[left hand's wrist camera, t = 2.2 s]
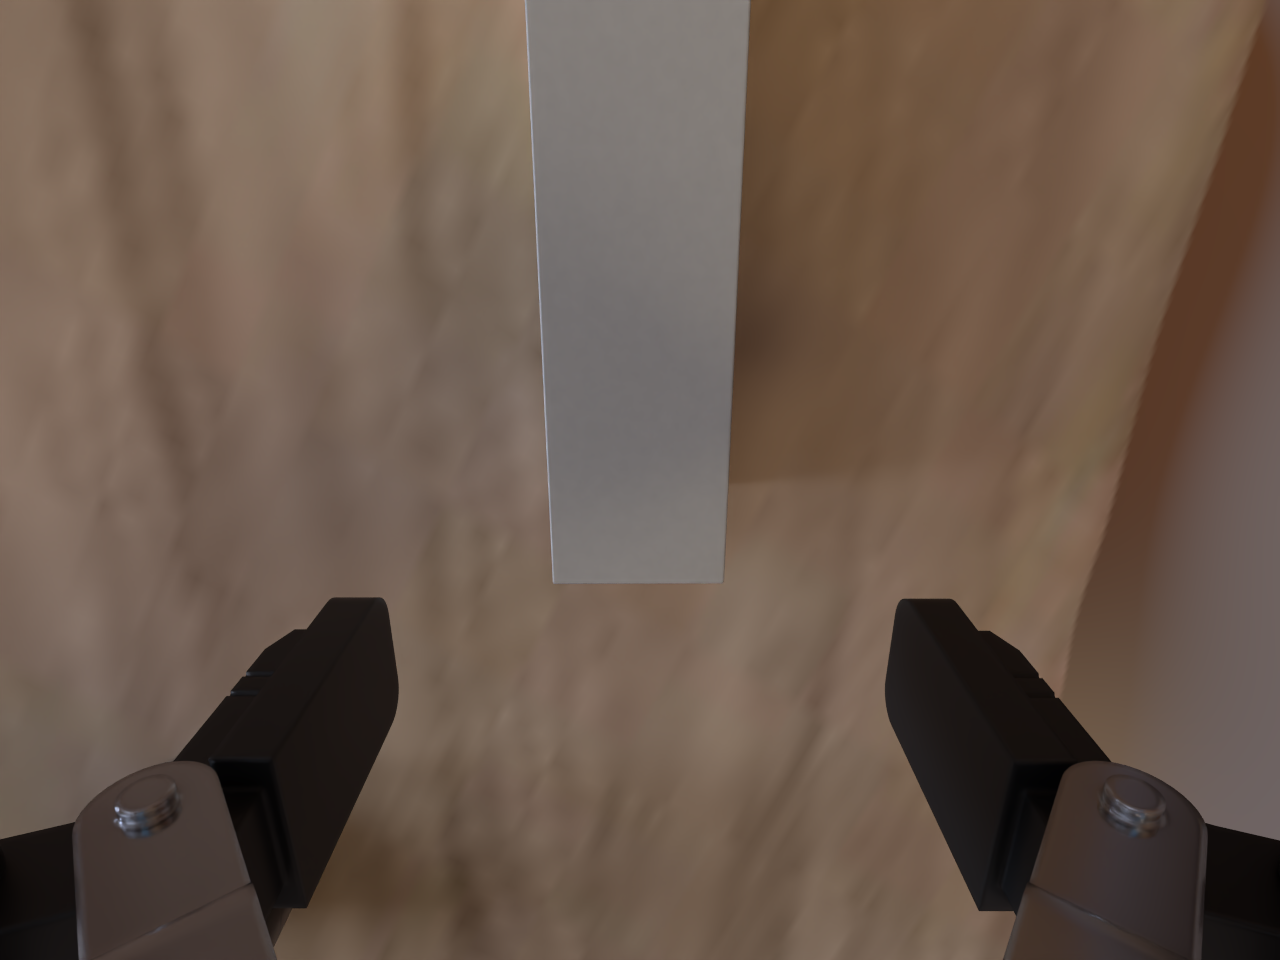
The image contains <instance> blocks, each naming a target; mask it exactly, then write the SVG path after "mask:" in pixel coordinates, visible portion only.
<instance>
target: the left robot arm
mask: <svg viewBox="0 0 1280 960" xmlns="http://www.w3.org/2000/svg"><path fill="white" fill-rule="evenodd" d="M398 694H399V684H398V675H397V668H396V661H395V654H394V647H393V640H392V633H391V626H390V619H389V613H388V608H387V605H386V602H385V601H384V599H382V598H331V599H330V600H329V601H328V602H327V603H326V604H325V606H324V607H323V608H322V610H321V611H320V612H319V614H318V615H317V616H316V618H315V619H314V620H313V622H312V623H311V624H310V626H309V627H308V628H307V629H295V630H293V631H292V632H290V633H289V634H287V635H286V636H284V637H283V638H281V639H280V640H278V641H277V642H275V643H274V644H272V645H271V646H269V647H268V648H266V649H265V650H264V651H263V652H262V653H261V655H260V656H259V657H258V658H257V660H256V661H255V662H254V663H253V664H252V666H251V667H250V668H249V669H248V671H247V672H246V677H242V678H241V679H240V680H239V682H238V683H237V684H236V685H235V686H234V688H233V689H232V690H231V695H230V696H226V697H225V699H224V700H223V701H222V702H221V704H220V705H219V706H218V707H217V708H216V710H215V711H214V712H213V713H212V715H211V716H210V717H209V718H208V719H207V721H206V722H205V723H204V724H203V726H202V727H201V728H200V729H199V730H198V732H197V733H196V734H195V735H194V737H193V738H192V739H191V740H190V741H189V743H188V744H187V745H186V746H185V748H184V749H183V750H182V751H181V752H180V754H179V755H178V756H177V757H176V759H175V760H174V761H173V762H167V763H162V764H158V765H154V766H151V767H148V768H145V769H142V770H139V771H137V772H135V773H132V774H130V775H128V776H126V777H124V778H122V779H120V780H118V781H117V782H115V783H114V784H112V785H111V786H109V787H107V788H106V789H105V790H103V791H102V792H101V793H99V794H98V795H97V796H96V797H95V798H94V799H93V800H92V801H90V802H89V803H88V805H87V806H86V807H85V808H84V809H83V810H82V812H81V813H80V815H79V816H78V818H77V820H76V822H73V823H70V824H65V825H61V826H57V827H52V828H48V829H44V830H39V831H35V832H30V833H26V834H22V835H17V836H13V837H9V838H4V839H0V960H277V958H276V955H275V952H274V948H273V947H274V945H275V943H276V941H277V939H278V937H279V935H280V933H281V931H282V929H283V927H284V925H285V922H286V920H287V918H288V916H289V914H290V912H291V910H292V908H307V906H308V904H309V902H310V899H311V897H312V895H313V893H314V891H315V889H316V886H317V884H318V882H319V880H320V878H321V876H322V874H323V871H324V869H325V867H326V865H327V863H328V861H329V859H330V856H331V854H332V852H333V850H334V848H335V846H336V843H337V841H338V839H339V837H340V835H341V833H342V831H343V828H344V826H345V824H346V822H347V820H348V818H349V816H350V813H351V811H352V809H353V807H354V805H355V803H356V800H357V798H358V796H359V794H360V792H361V790H362V788H363V785H364V783H365V781H366V779H367V777H368V775H369V773H370V770H371V768H372V766H373V764H374V762H375V760H376V757H377V755H378V753H379V751H380V749H381V747H382V745H383V742H384V740H385V738H386V736H387V734H388V732H389V730H390V727H391V725H392V723H393V720H394V717H395V714H396V710H397V704H398ZM885 700H886V707H887V713H888V717H889V720H890V723H891V725H892V727H893V729H894V731H895V734H896V736H897V738H898V740H899V742H900V744H901V746H902V748H903V751H904V753H905V755H906V757H907V759H908V761H909V763H910V765H911V768H912V770H913V772H914V774H915V776H916V778H917V780H918V782H919V785H920V787H921V789H922V791H923V793H924V795H925V797H926V799H927V802H928V804H929V806H930V808H931V810H932V812H933V814H934V816H935V819H936V821H937V823H938V825H939V827H940V829H941V831H942V833H943V836H944V838H945V840H946V842H947V844H948V846H949V848H950V850H951V853H952V855H953V857H954V859H955V861H956V863H957V865H958V867H959V870H960V872H961V874H962V876H963V878H964V880H965V882H966V884H967V887H968V889H969V891H970V893H971V895H972V897H973V899H974V901H975V904H976V906H977V908H978V910H979V911H1014V913H1015V915H1016V919H1015V923H1014V926H1013V929H1012V932H1011V936H1010V939H1009V942H1008V945H1007V948H1006V952H1005V955H1004V958H1003V960H1280V841H1279V840H1274V839H1270V838H1266V837H1262V836H1257V835H1253V834H1249V833H1244V832H1240V831H1236V830H1231V829H1227V828H1223V827H1218V826H1214V825H1211V824H1207V823H1205V822H1204V820H1203V818H1202V816H1201V815H1200V813H1199V812H1198V810H1197V809H1196V808H1195V807H1194V806H1193V805H1192V803H1191V802H1190V801H1188V800H1187V799H1186V798H1185V797H1184V796H1183V795H1182V794H1180V793H1179V792H1178V791H1177V790H1175V789H1174V788H1173V787H1171V786H1169V785H1168V784H1166V783H1165V782H1163V781H1162V780H1160V779H1158V778H1156V777H1154V776H1152V775H1150V774H1148V773H1145V772H1143V771H1141V770H1138V769H1135V768H1132V767H1129V766H1126V765H1122V764H1118V763H1113V762H1111V761H1110V760H1109V758H1108V757H1107V756H1106V755H1105V753H1104V752H1103V751H1102V750H1101V749H1100V747H1099V746H1098V745H1097V744H1096V743H1095V741H1094V740H1093V739H1092V738H1091V737H1090V735H1089V734H1088V733H1087V732H1086V731H1085V729H1084V728H1083V727H1082V726H1081V724H1080V723H1079V722H1078V721H1077V720H1076V718H1075V717H1074V716H1073V715H1072V714H1071V712H1070V711H1069V710H1068V709H1067V707H1066V706H1065V705H1064V704H1063V703H1062V701H1061V700H1060V699H1059V698H1055V696H1054V692H1053V691H1052V689H1051V688H1050V687H1049V686H1048V684H1047V683H1046V682H1045V681H1044V680H1043V678H1039V674H1038V672H1037V671H1036V670H1035V669H1034V667H1033V666H1032V665H1031V664H1030V663H1029V661H1028V660H1027V659H1026V658H1025V657H1024V655H1023V654H1022V653H1021V652H1020V651H1019V650H1018V649H1016V648H1015V647H1013V646H1012V645H1010V644H1009V643H1007V642H1006V641H1004V640H1003V639H1001V638H1000V637H998V636H997V635H995V634H994V633H992V632H991V631H978V630H977V629H976V628H975V626H974V625H973V624H972V622H971V621H970V620H969V618H968V617H967V616H966V615H965V613H964V612H963V611H962V609H961V608H960V607H959V605H958V604H957V603H956V602H955V601H954V600H952V599H902V600H901V601H900V602H899V603H898V606H897V609H896V613H895V619H894V626H893V633H892V640H891V647H890V654H889V660H888V667H887V674H886V681H885Z"/></svg>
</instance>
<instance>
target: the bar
mask: <svg viewBox="0 0 1280 960" xmlns="http://www.w3.org/2000/svg"><path fill="white" fill-rule="evenodd" d="M750 7H751V0H525V11H526V31H527V52H528V73H529V94H530V115H531V135H532V156H533V177H534V198H535V219H536V239H537V260H538V281H539V302H540V323H541V343H542V364H543V385H544V406H545V427H546V447H547V468H548V489H549V510H550V531H551V551H552V572H553V583H554V584H642V583H723V582H724V570H725V549H726V527H727V505H728V484H729V462H730V440H731V419H732V397H733V375H734V354H735V332H736V310H737V289H738V267H739V245H740V224H741V202H742V180H743V159H744V137H745V115H746V94H747V72H748V50H749V29H750Z"/></svg>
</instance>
